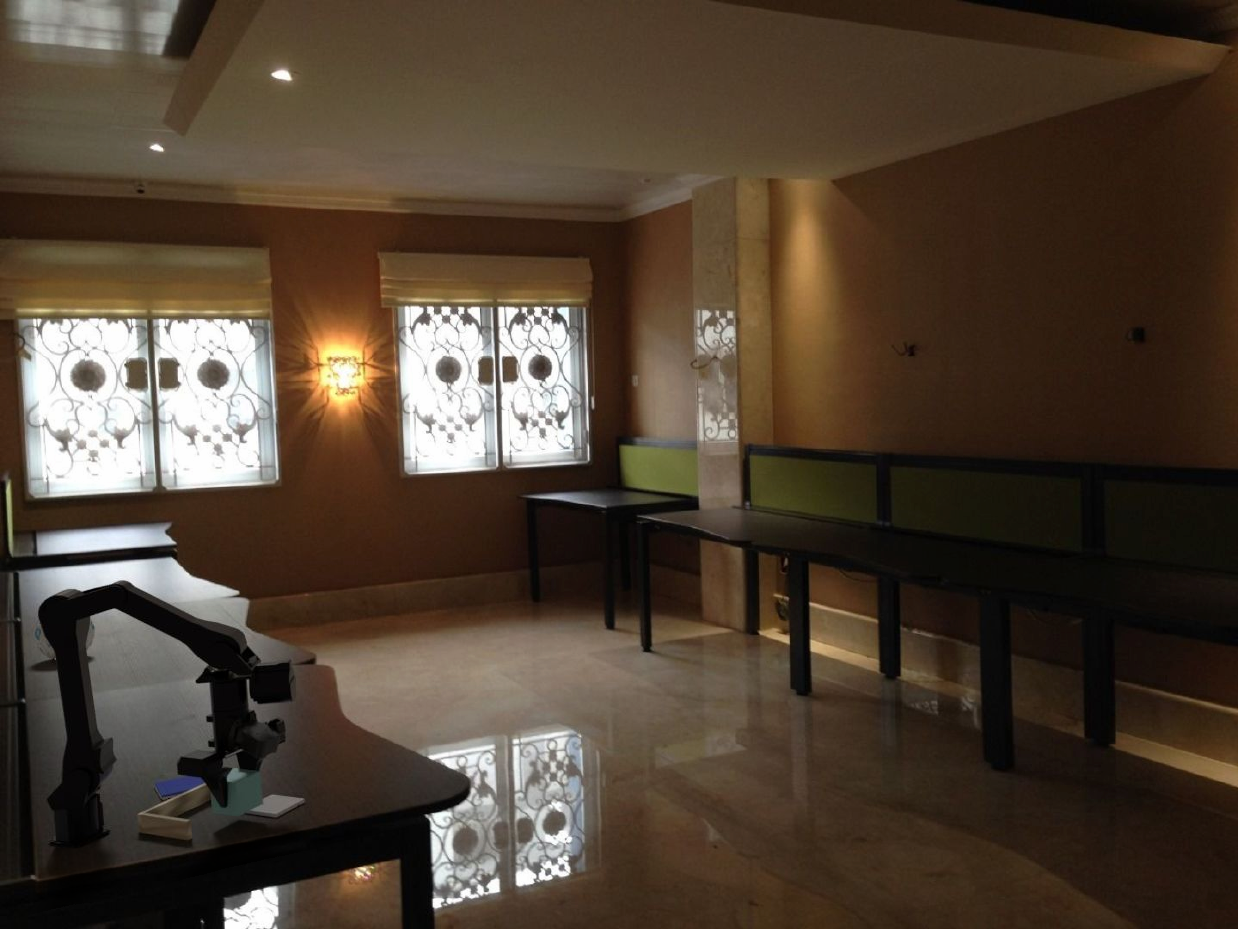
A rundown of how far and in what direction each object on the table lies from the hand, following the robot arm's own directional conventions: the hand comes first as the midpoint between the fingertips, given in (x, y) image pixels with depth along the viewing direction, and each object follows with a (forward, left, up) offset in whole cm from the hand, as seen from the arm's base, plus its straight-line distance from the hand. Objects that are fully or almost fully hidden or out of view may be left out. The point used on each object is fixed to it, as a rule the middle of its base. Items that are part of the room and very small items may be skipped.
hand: (237, 801), depth 177 cm
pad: (+7, -1, -4) cm, 8 cm away
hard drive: (+11, +21, -4) cm, 24 cm away
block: (0, 0, -1) cm, 1 cm away
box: (0, +8, -4) cm, 8 cm away
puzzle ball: (+78, +136, -4) cm, 157 cm away
